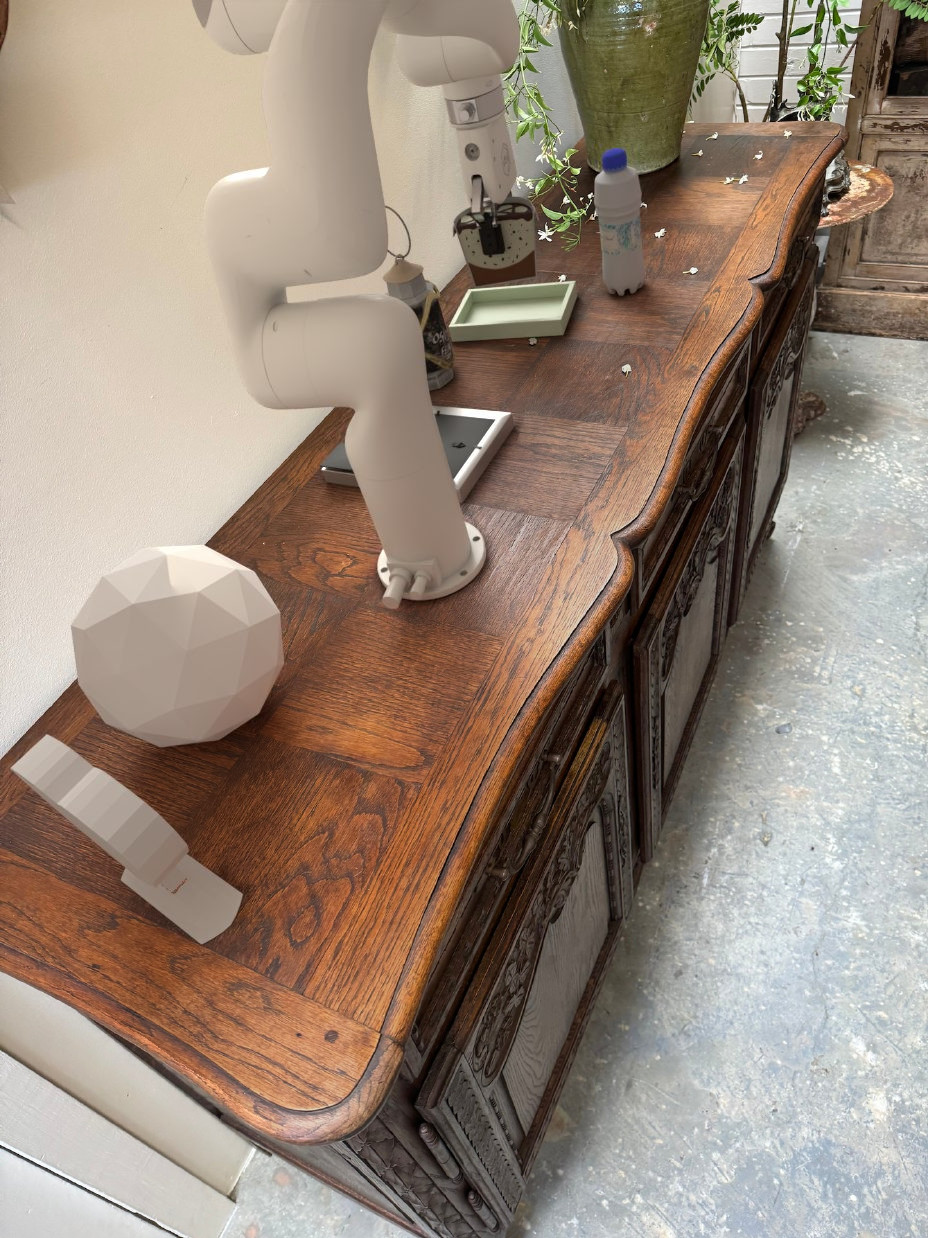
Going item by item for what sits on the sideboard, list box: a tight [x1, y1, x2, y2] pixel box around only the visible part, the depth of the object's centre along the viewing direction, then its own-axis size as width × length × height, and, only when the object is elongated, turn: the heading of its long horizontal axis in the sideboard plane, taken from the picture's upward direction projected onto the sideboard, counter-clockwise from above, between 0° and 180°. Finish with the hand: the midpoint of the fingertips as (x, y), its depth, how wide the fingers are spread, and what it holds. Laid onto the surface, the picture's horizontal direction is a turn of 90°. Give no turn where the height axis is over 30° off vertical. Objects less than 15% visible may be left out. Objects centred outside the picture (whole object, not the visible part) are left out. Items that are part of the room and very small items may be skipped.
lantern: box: [382, 205, 455, 392], centre depth 114 cm, size 9×8×25 cm
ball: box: [70, 544, 285, 748], centre depth 81 cm, size 19×20×20 cm
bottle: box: [593, 147, 646, 297], centre depth 122 cm, size 7×7×20 cm
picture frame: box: [318, 405, 515, 504], centre depth 110 cm, size 16×3×21 cm
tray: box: [448, 280, 578, 343], centre depth 129 cm, size 12×18×2 cm, turn 74°
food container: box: [452, 196, 540, 289], centre depth 121 cm, size 12×6×10 cm, turn 84°
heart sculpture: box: [9, 733, 244, 945], centre depth 67 cm, size 16×5×18 cm, turn 55°
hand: (500, 240), depth 121 cm, fingers closed on food container, 6 cm apart
